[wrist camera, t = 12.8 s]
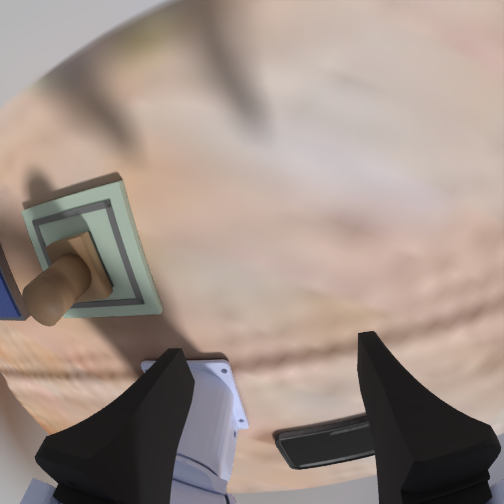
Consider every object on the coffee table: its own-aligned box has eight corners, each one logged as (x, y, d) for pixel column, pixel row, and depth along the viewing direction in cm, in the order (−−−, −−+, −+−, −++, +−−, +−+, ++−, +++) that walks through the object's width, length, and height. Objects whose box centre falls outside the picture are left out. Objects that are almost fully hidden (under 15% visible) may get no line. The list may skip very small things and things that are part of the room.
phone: (418, 442, 28) (292, 470, 31) (416, 435, 29) (292, 463, 32) (420, 405, 25) (272, 439, 28) (418, 396, 26) (272, 431, 29)
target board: (163, 309, 24) (160, 314, 23) (67, 314, 25) (63, 318, 25) (122, 179, 20) (117, 182, 19) (25, 208, 21) (20, 211, 21)
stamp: (116, 287, 23) (76, 336, 17) (80, 293, 23) (40, 338, 18) (91, 228, 21) (40, 266, 15) (56, 239, 21) (6, 276, 16)
